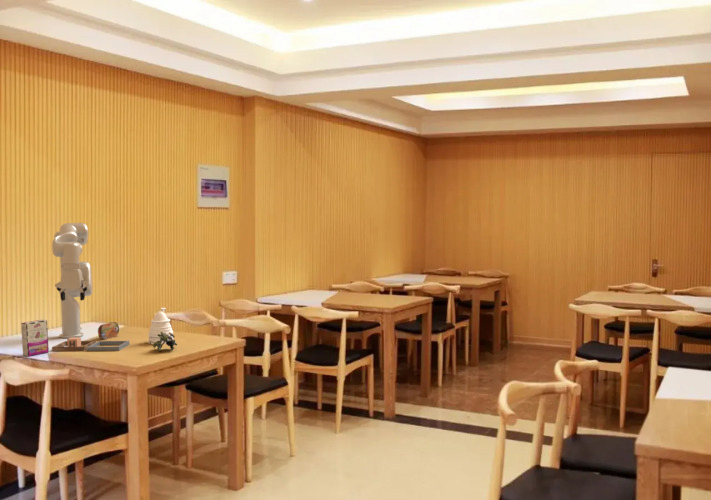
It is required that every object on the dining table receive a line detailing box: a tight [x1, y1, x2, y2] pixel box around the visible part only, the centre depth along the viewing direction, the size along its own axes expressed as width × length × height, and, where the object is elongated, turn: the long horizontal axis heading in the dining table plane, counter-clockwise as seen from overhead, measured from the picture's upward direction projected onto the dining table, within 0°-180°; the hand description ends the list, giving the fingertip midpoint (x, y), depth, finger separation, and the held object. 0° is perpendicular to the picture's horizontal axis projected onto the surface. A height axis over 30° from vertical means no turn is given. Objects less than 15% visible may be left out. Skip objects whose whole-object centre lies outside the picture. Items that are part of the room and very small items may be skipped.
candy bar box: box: [20, 319, 50, 357], centre depth 334 cm, size 11×5×16 cm, turn 148°
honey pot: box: [148, 307, 175, 345], centre depth 362 cm, size 13×13×18 cm
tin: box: [97, 321, 120, 340], centre depth 376 cm, size 15×3×8 cm, turn 161°
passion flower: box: [148, 332, 178, 352], centre depth 340 cm, size 11×11×12 cm
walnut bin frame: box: [51, 340, 97, 352], centre depth 349 cm, size 16×16×2 cm
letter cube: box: [66, 336, 82, 347], centre depth 349 cm, size 5×5×5 cm
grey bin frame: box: [86, 340, 130, 352], centre depth 349 cm, size 16×16×2 cm
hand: (72, 300), depth 348 cm, fingers open, 9 cm apart
